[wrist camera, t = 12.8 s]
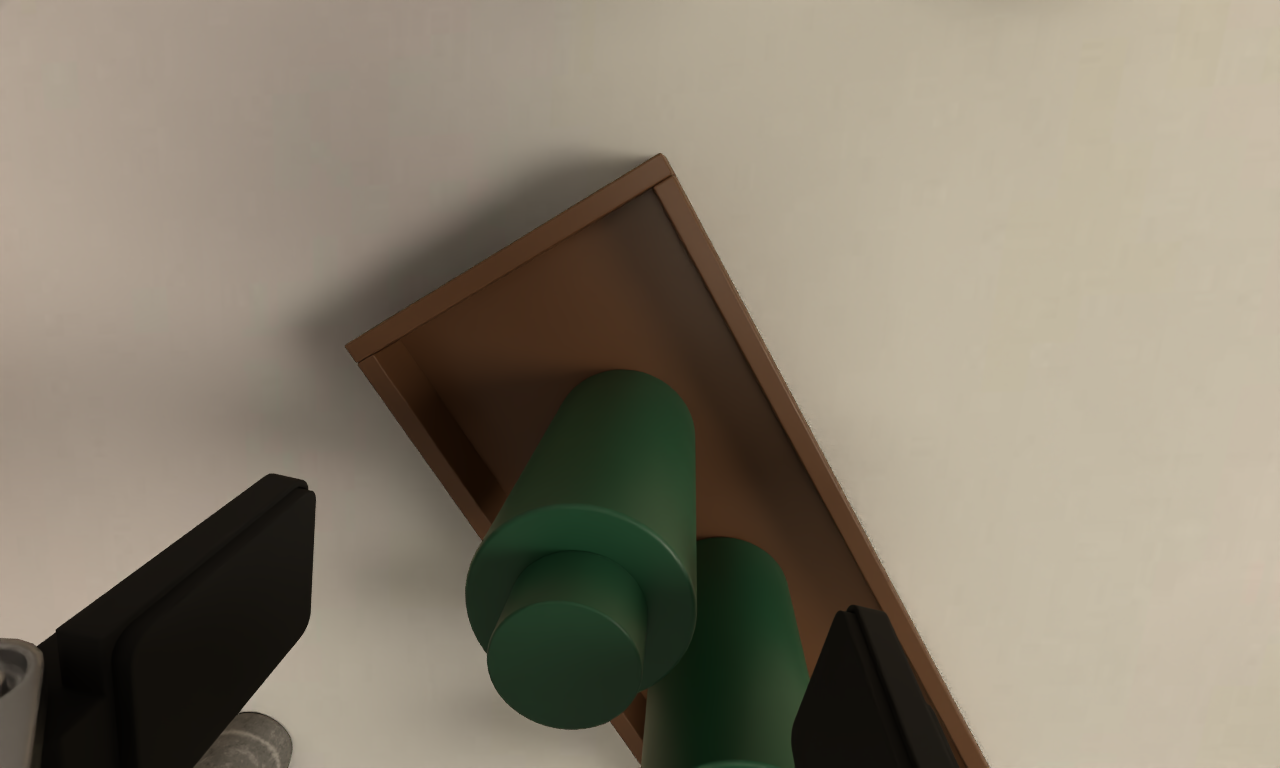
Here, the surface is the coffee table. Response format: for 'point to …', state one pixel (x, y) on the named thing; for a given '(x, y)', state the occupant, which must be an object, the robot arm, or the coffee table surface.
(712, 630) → the bottle mid
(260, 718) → the flask
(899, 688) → the robot arm
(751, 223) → the coffee table surface
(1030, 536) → the coffee table surface
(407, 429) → the tray
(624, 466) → the bottle
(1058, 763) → the coffee table surface
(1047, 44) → the coffee table surface
